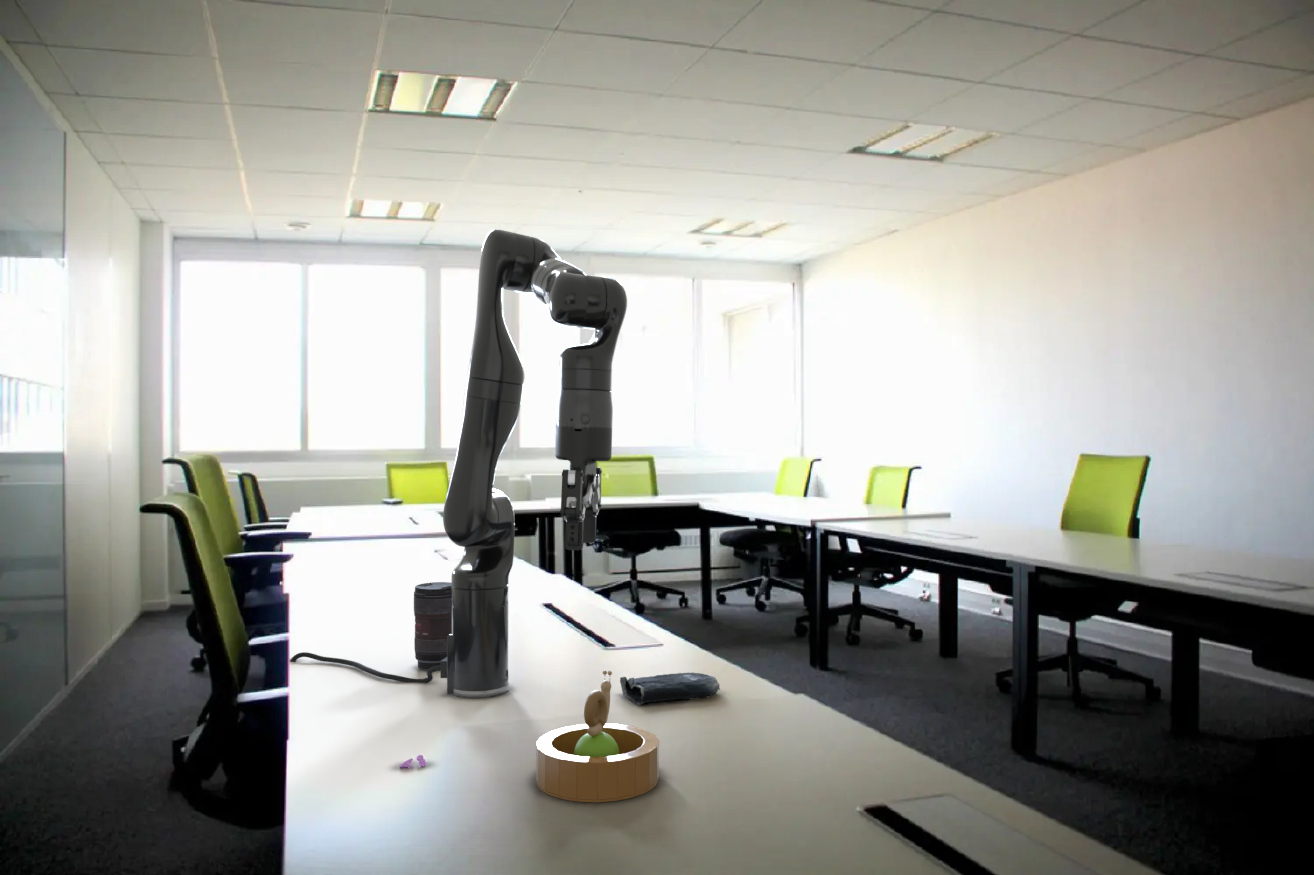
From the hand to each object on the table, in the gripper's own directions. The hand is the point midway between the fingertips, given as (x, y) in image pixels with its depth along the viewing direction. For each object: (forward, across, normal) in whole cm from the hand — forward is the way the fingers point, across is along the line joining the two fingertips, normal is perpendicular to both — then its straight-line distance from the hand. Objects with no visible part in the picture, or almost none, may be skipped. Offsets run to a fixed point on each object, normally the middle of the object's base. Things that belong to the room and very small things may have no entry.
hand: (580, 546), depth 121 cm
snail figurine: (+26, +11, +5) cm, 29 cm away
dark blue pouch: (+27, -27, +10) cm, 39 cm away
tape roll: (+26, +11, +5) cm, 29 cm away
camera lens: (+28, -42, -35) cm, 61 cm away
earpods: (+28, +10, -18) cm, 35 cm away
